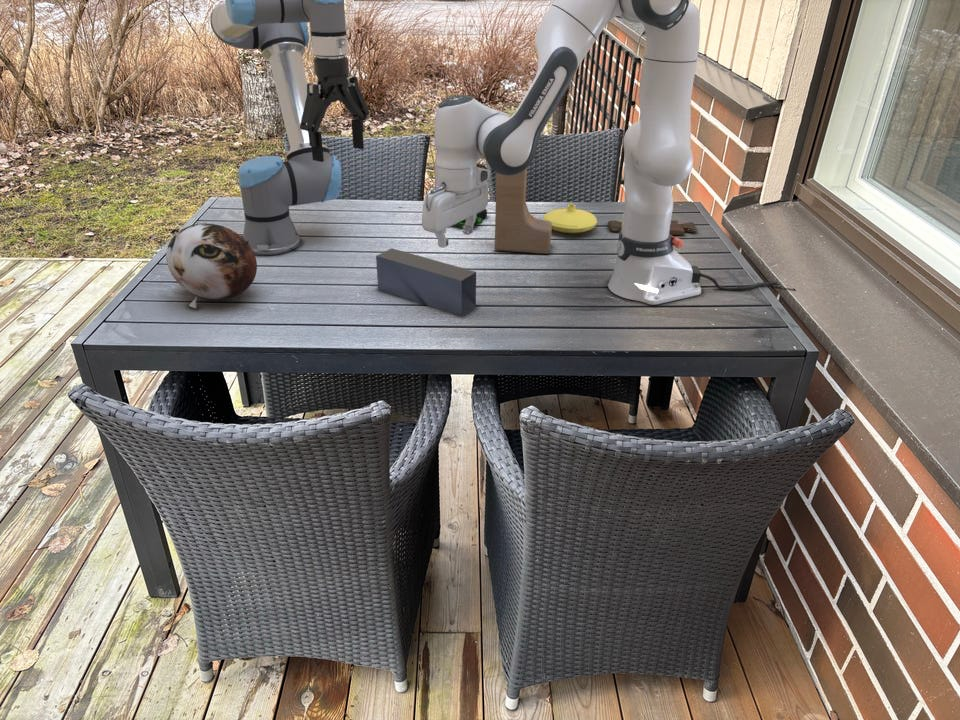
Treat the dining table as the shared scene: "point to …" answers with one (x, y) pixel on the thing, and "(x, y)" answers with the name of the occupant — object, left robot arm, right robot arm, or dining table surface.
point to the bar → (427, 281)
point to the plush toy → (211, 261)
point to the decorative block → (518, 218)
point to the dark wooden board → (674, 229)
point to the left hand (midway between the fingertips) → (339, 154)
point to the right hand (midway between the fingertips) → (455, 239)
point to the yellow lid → (571, 220)
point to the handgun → (478, 220)
